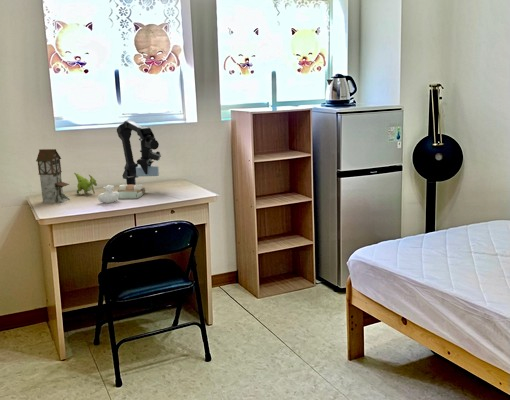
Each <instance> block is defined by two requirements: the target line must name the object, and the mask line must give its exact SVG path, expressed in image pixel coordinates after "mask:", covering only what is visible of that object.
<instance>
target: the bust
mask: <svg viewBox="0 0 510 400" xmlns="http://www.w3.org/2000/svg"><path fill="white" fill-rule="evenodd" d="M102 187H103V189H105V192H103V193H102V192H101V193H99V194H98V195H97V198H98V200H99V202H100V203H105V204H106V203H107V204H112V203H114V202H115V201H118V200H119V199H118V198H119V193H118V192H117V191H114V188H115V186H114V185H111V184H107V185H106V186H102Z"/></svg>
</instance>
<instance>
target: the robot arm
mask: <svg viewBox="0 0 510 400" xmlns="http://www.w3.org/2000/svg"><path fill="white" fill-rule="evenodd" d="M132 131H134V132H135V133H137V136H138V137H139V138H138V140H139V141H140V150H139V152H140V155H141V156H140V158H138V159H137V160H136V162H135V160H134V155H133V151H132V149H133V148H132V145H131V140H130V139H131V136H132ZM116 133H117V136H118V138H119V140H121V144H122V148H123V154H124V159H125V165H124V168H123V169H124V171H123V174H122V179H123V180H126V185H137V182H136V178H139V177H136V167H142V169H143V171H144V173H145V174H147V173H148V166H152V164H153V163H154V162H155V161H158V162H159V161H160V159H161V157H162V154H161V152H160V151H156V152H154V151H155V150H157V149H158V148H159V147H160V146H159V142H158V140H156V137H155V135H154V134H155V133H153V131H152V129H151V127H150V126H146V125H145V126H144V125H140V124H139V123H137V122H135V121H134V120H132V119H130V120H129V119H128V120H124V122H123V123H120V124H119V125H118V126H117V128H116ZM153 150H154V151H153Z"/></svg>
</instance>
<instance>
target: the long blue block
mask: <svg viewBox="0 0 510 400" xmlns="http://www.w3.org/2000/svg"><path fill="white" fill-rule="evenodd" d="M159 175H160V172H159V166H158V165H155V166H153V165H151V166H148V173H147V174H145V173H144V171H143V169H142V167H141V166H138V167H136V177H138V178H139V177H158V176H159Z"/></svg>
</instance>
